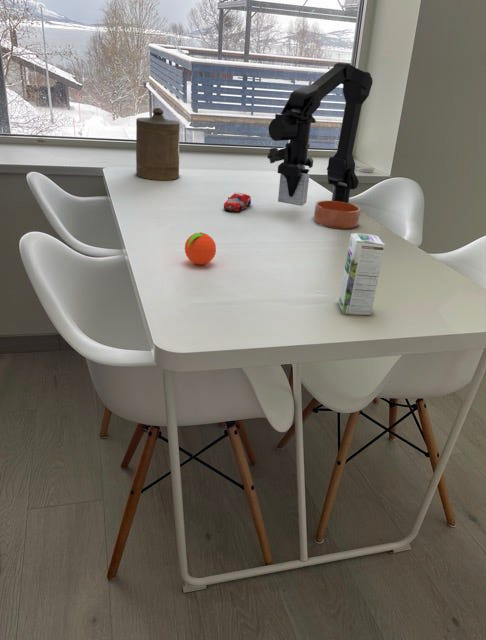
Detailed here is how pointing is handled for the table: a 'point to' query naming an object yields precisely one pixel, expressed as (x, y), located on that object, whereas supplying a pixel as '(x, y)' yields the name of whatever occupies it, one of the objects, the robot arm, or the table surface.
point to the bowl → (336, 214)
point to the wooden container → (157, 147)
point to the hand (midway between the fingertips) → (292, 195)
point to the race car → (237, 202)
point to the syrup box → (361, 274)
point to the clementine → (200, 248)
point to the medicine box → (299, 194)
